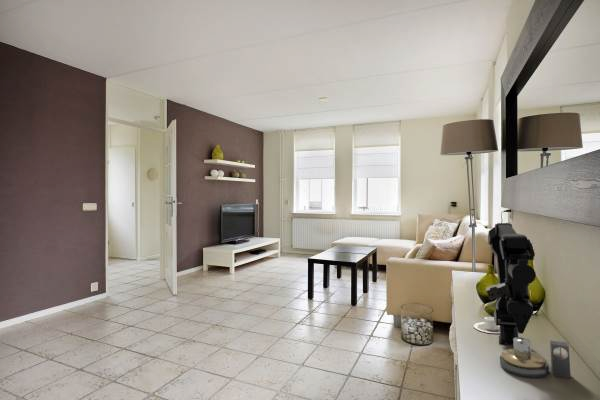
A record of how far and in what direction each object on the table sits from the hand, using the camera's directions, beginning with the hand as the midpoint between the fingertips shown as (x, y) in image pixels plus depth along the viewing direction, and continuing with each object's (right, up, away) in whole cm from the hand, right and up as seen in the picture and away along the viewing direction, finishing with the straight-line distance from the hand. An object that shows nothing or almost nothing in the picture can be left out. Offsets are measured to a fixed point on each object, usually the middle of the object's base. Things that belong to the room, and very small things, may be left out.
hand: (519, 327), depth 105 cm
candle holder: (+9, -13, +31) cm, 35 cm away
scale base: (+3, -12, -2) cm, 12 cm away
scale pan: (+1, -9, -1) cm, 10 cm away
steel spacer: (0, -8, -1) cm, 9 cm away
